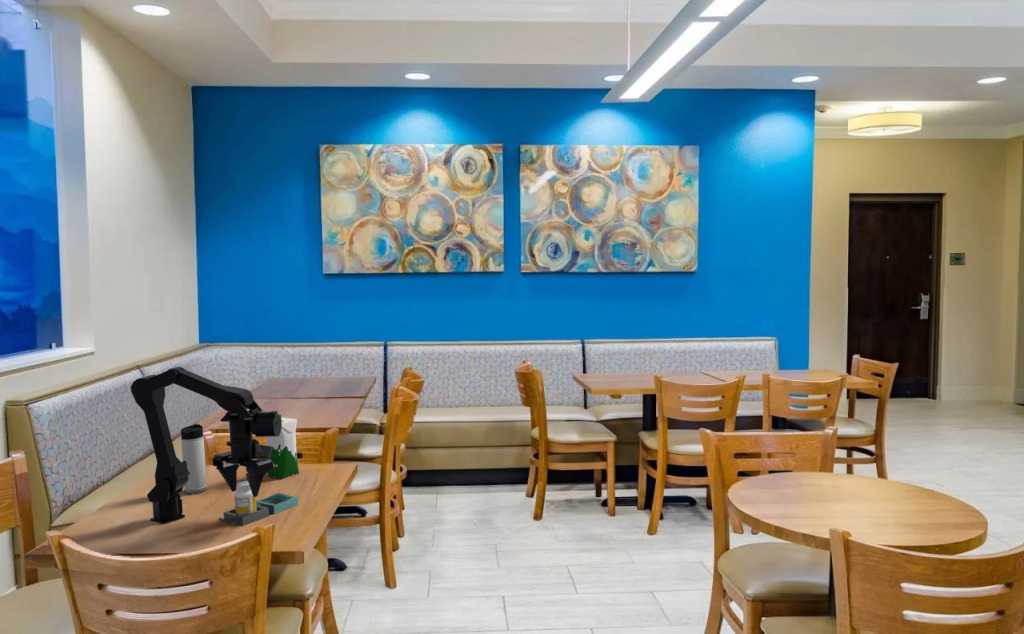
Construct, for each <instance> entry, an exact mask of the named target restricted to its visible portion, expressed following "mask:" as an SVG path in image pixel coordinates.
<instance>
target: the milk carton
mask: <svg viewBox="0 0 1024 634" xmlns="http://www.w3.org/2000/svg"><path fill="white" fill-rule="evenodd" d="M278 416H279V417H280V420H281V422H282V428H281V433H280V435H279V436H277V437H266V438H265V439H266V446H272V452H271V456H270V458H267V457H266V459H271V460H272V461H273V463H274V469H273V470H271V471H270V472H269V473H267V474H266V475H267V477H269V476H271V477H270V478H274V477H276V479H279V478H281V479H280V480H283V478H284V479H286V478H285V477H287V478H289V477H288V476H290V477H292V476H294V475H293V474H295V475H297V474H296V473H298V474H300V471H299V470H300V469H299V464H298V462H299V461H298V454H297V436H296V435H297V434H296V431H297V424H298V419H297V418H288V417H282V414H279V413H278ZM291 475H292V476H291Z"/></svg>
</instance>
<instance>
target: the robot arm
mask: <svg viewBox="0 0 1024 634" xmlns="http://www.w3.org/2000/svg"><path fill="white" fill-rule="evenodd" d="M172 385H176V386H179V387H182V388H183V389H186V390H188V391H191V392H192V393H193V392H194V393H196V394H198V395H199V396H200V395H201V396H203V397H205V398H208V399H209V400H211V401H214V402H215V404H216V405H218V406H219V408H222V409H223V410H224V411H226V413H225V414H224V416H222V417H221V419H220V422H222V423H223V422H228V427H229V431H228V433H229V440H228V441H226V446H228V447H230V451H229V450H228V451H225V452H221V453H218V454H215V455H214V457H213V458H212V466H213V467H215V469H216V470H217V471H218V472H219V473H220V475H221V477H222V478H223V479H224V481H225V483H226V485H227V486H228V487H229V489H230V490H231V492H233V493H234V492H236V491H237V482H238V480H237V477H238V476H237V475H238V472H237V471H238V469H239V467H245V471H246V472H247V473H246V474H245V476H246V479H247V480H246V481H248V483H249V486H250V489H251V492H252V494H253V497H256V498H257V497H258V496H259V493H260V489H261V486H262V482H263V479H264V477H265V476H266V475H267V473H269V472H270V471H271V470H273V469H274V463H273V461H272V460H271V459H267V458H270V456H271V452H272V446H267V444H260V441H259V440H257V439H256V438H260V437H261V438H262V437H264V438H265V437H277V436H279V435H280V433H281V428H282V422H281V420H280V417H279V416H278V414H279V411H278V410H270V411H263V409H262V408H261V406H260V405H259V404H258V403H257V402H256V400H255V399H254V396H253V393H252V391H250V390H248V388H247V389H246V388H244V387H243V388H242V387H238V386H237V387H236V386H230V385H224V384H220V383H218V382H216V381H213V380H211V379H209V378H205V377H203V376H201V375H199V374H196V373H194V372H192V371H189V370H187V369H185V368H184V367H182V366H175V367H172V368H169V369H167V370H166V371H163V372H162V373H158V374H150V375H145V376H143V377H140V378H139V377H138V378H137V379H135V380H133V382H132V383H131V385H130V392H131V395H132V397H133V399H134V401H135V403H136V404H137V406H138V407H139V408H140V409H141V410H142V412H143V414H144V418H145V420H146V421H145V422H146V425H147V429H148V434H149V437H150V441H151V444H152V448H153V452H154V456H155V460H156V466H155V472H154V480H155V481H154V482H155V483H154V484H155V486H153V488H152V489H151V490H150V491H149V492H148V493H147V495H146V496H147V499H148V501H149V502H150V503H152V516H153V517H151V518H150V520H149V521H151V522H154V523H158V524H162V525H166V524H169V523H171V522H174V521H176V520H177V521H178V520H179V519H183V518H186V515H185V514H183V512H184V510H183V499H182V498H181V493H183V489H184V488H185V487H184V486H185V485H186V483H187V481H188V475H189V474H190V473H189V471H188V469H187V462H186V461H183V460H182V461H181V460H180V459H179V457H177V454H176V451H175V447H174V444H173V443H174V442H173V439H172V435H171V432H170V431H171V430H170V428H169V423H168V419H167V416H166V411H165V407H164V403H165V398H166V388H167V387H169V386H172ZM254 436H255V437H256V438H253V437H254Z"/></svg>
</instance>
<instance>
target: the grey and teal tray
mask: <svg viewBox="0 0 1024 634" xmlns="http://www.w3.org/2000/svg"><path fill="white" fill-rule="evenodd" d="M298 498H299V497H297V496H292V495H289V494H285V493H280V492H277V493H275V494H272V495H269V496H267V497H263V498H261V499H256V508H257V511H256V512H253V513H250V514H247V515H245V516H241V515H238V514H236V512H235V507H234V508H231V509H229V510H226V511H224V512H223V515H220V516H219V517H218V519H219V520H220V521H221V520H222V521H226V522H228V523H233V524H235V525H240V526H245V525H248V524H251V523H253V522H256V521H259V520H262V519H264V518H267V517H270V514H275V515H276V514H278V513H280V512H282V511H286V510H288V509H291V508H293V507H296V506H299V499H298Z"/></svg>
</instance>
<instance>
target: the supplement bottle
mask: <svg viewBox="0 0 1024 634" xmlns="http://www.w3.org/2000/svg"><path fill="white" fill-rule="evenodd" d="M234 492H235V493H234V508H235V512H236V514H238V515H241V516H245V515H247V514H250V513H253V512H256V511H257V508H256V501H257V496H256V497H253V494H252V492H251V489H250V486H249V483H248V480H245V481H239V482H238V483H237V485H236V491H234Z"/></svg>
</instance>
